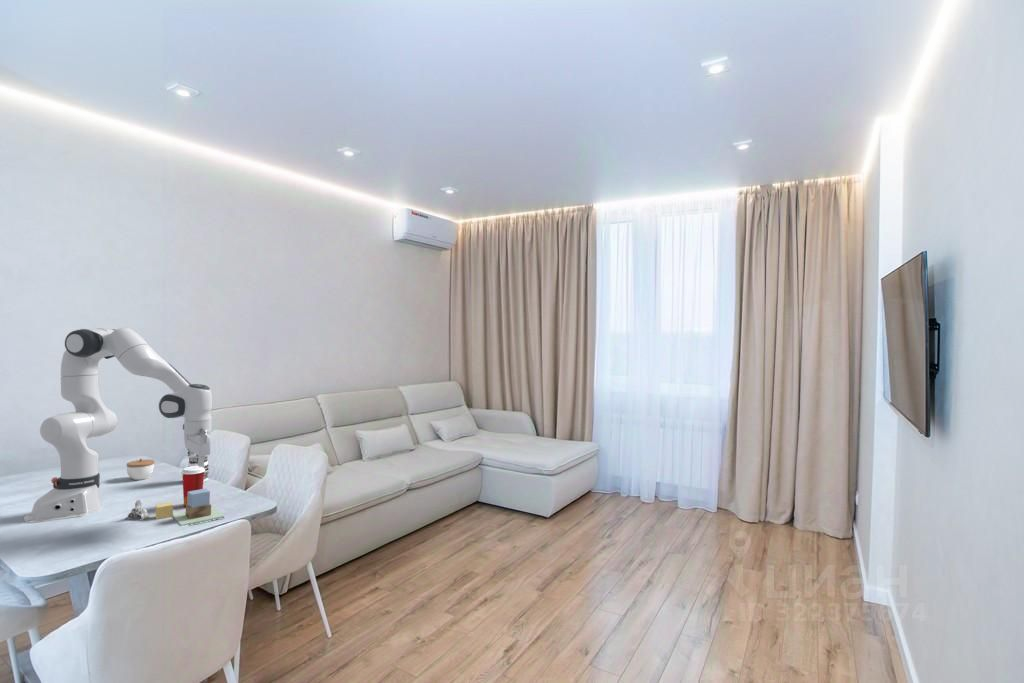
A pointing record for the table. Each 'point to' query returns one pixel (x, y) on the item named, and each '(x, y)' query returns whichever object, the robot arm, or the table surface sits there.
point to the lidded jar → (140, 469)
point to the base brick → (198, 511)
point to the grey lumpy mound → (138, 512)
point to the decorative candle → (197, 465)
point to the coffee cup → (192, 480)
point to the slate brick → (198, 498)
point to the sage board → (184, 520)
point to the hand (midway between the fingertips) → (197, 463)
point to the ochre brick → (164, 510)
